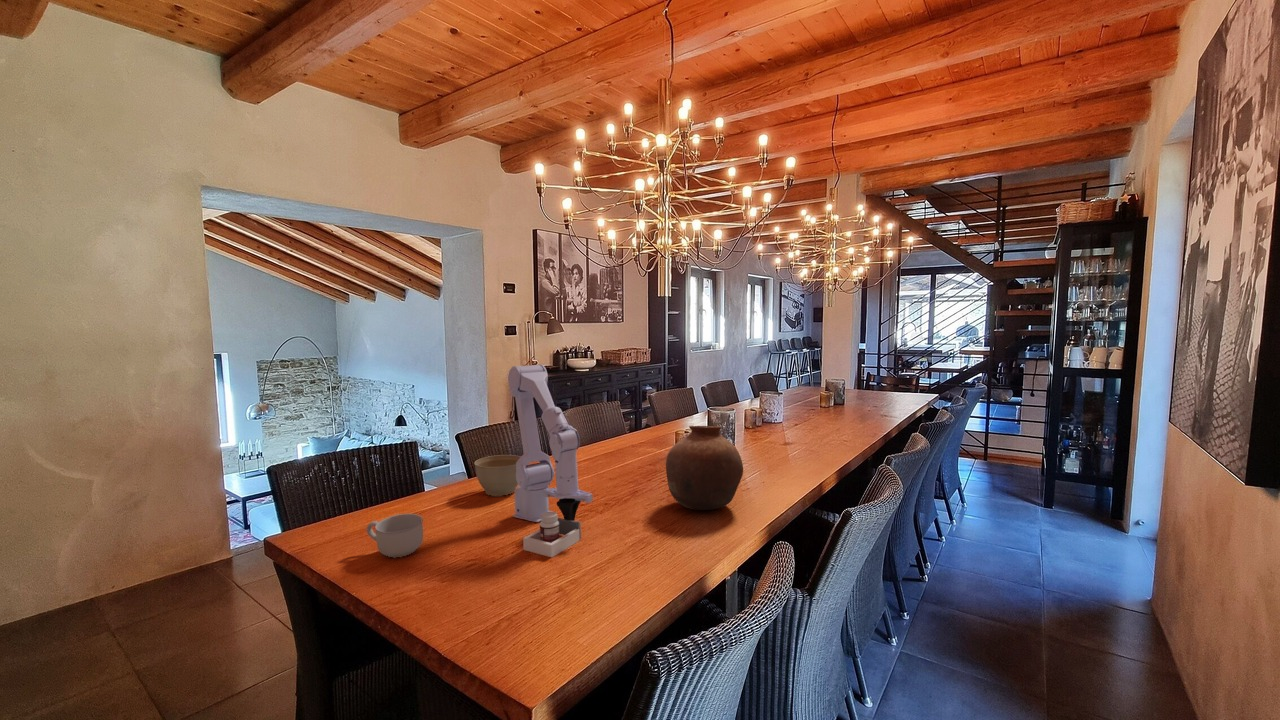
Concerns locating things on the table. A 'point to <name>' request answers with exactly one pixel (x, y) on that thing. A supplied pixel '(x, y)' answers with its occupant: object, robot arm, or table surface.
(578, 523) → the channel cover
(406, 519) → the teacup
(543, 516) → the pill bottle
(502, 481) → the planter bowl
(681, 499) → the pottery
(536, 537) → the channel
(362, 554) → the table surface
